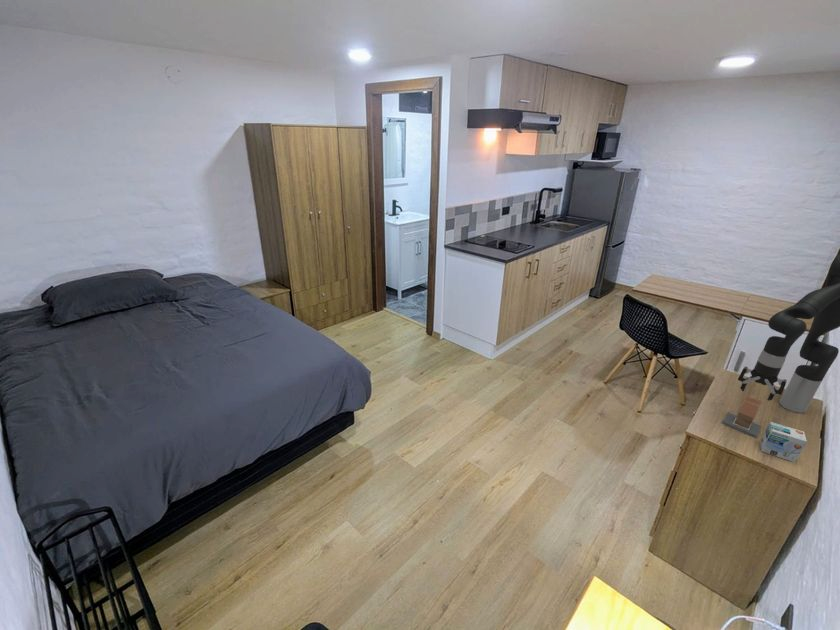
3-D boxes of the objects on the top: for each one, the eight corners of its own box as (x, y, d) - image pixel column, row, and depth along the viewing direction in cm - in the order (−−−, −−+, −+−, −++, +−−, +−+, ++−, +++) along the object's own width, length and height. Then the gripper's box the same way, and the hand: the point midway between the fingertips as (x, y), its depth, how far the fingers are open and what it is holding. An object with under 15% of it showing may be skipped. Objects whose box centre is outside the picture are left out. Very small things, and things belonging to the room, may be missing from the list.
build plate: (727, 414, 177) (728, 412, 176) (760, 428, 169) (761, 425, 168) (722, 423, 171) (723, 421, 170) (756, 438, 163) (757, 435, 163)
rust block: (741, 407, 170) (746, 395, 167) (756, 412, 166) (761, 401, 164) (738, 412, 167) (744, 400, 164) (753, 418, 163) (759, 406, 161)
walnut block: (736, 418, 172) (741, 407, 170) (751, 423, 169) (756, 412, 166) (734, 423, 169) (739, 412, 167) (748, 429, 166) (753, 418, 163)
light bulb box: (760, 451, 157) (771, 430, 152) (759, 441, 162) (769, 420, 157) (795, 463, 151) (808, 442, 146) (793, 452, 156) (804, 431, 152)
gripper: (795, 365, 153) (779, 398, 160) (750, 351, 163) (736, 383, 170) (792, 373, 149) (775, 407, 156) (746, 358, 158) (732, 391, 165)
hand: (755, 394), depth 163 cm, fingers open, 8 cm apart
